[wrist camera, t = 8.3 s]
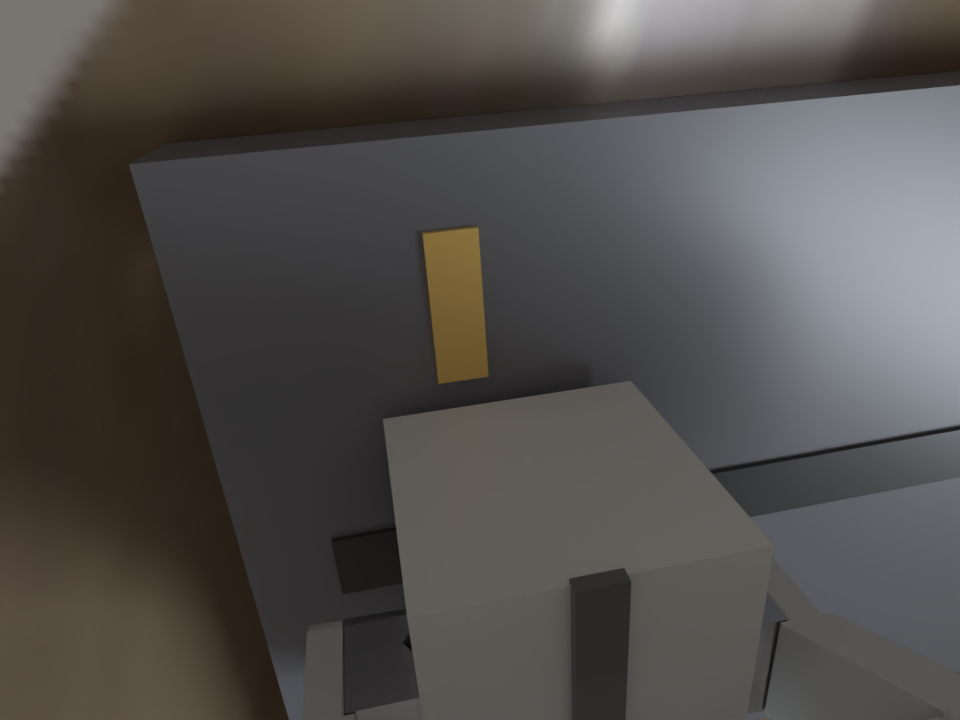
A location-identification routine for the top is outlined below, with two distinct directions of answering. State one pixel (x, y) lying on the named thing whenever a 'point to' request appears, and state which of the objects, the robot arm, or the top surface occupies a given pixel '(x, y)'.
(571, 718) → the fader knob
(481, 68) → the top surface
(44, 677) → the top surface
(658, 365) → the fader panel
